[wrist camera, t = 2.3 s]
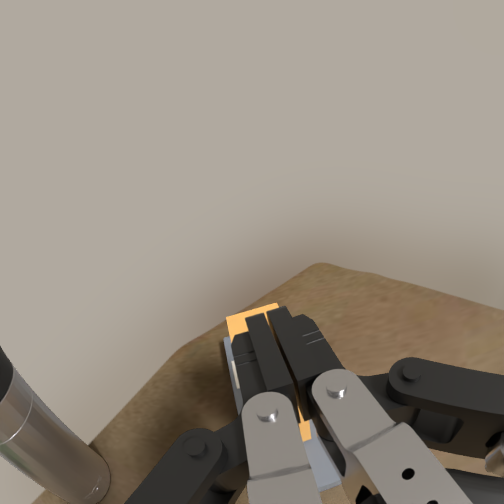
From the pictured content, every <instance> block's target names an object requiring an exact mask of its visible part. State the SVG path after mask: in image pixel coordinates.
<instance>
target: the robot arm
mask: <svg viewBox="0 0 504 504" xmlns="http://www.w3.org/2000/svg"><path fill="white" fill-rule="evenodd" d="M266 314H267V319H268V322H267V319H266V317H265V314H264V312H263V313H259V314H256V315H253V316H249V317H246V318H245V321H246V324H247V328H248V331H247V332H243V333H240V334H236V335H234V338H233V341H232V344H231V349H232V354H233V358H234V363H235V368H236V372H237V377H238V381H239V386H240V390H241V394H242V399H243V406H242V410H241V412H240V414H239V415H238V417H237V418H236V419H235V420H234V421H233V422H231V423H230V424H228V425H226V426H225V427H223V428H221V429H219V430H217V431H215V432H213V431H211V430H208V429H203V428H197V429H192V430H189V431H186V432H185V433H183V434H182V435H180V436H179V437H178V438H177V440H176V441H175V442H174V443H173V445H172V446H171V447H170V449H169V450H168V451H167V452H166V454H165V455H164V456H163V457H162V459H161V460H160V461H159V462H158V464H157V465H156V466H155V467H154V469H153V470H152V471H151V472H150V473H149V475H148V476H147V477H146V478H145V479H144V481H143V482H142V483H141V484H140V485H139V487H138V488H137V489H136V490H135V491H134V493H133V494H132V495H131V496H130V497H129V498H128V500H127V501H126V502H125V503H124V504H235V502H236V500H237V499H238V497H239V496H240V494H241V493H242V491H243V489H244V488H245V486H246V484H247V491H248V498H249V504H322V501H321V497H320V494H319V491H318V487H317V484H316V481H315V477H314V474H313V471H312V468H311V466H310V464H309V461H308V457H307V454H306V451H305V447H304V444H303V440H302V437H301V433H300V428H299V423H301V420H300V415H299V410H300V412H301V415H302V417H303V419H304V422H305V421H308V420H311V419H312V421H313V424H314V426H315V428H316V434H317V438H318V440H319V442H320V444H321V446H322V447H323V449H324V451H325V453H326V455H327V456H328V458H329V460H330V462H331V464H332V465H333V467H334V469H335V471H336V472H337V474H338V476H339V478H340V480H341V482H342V486H343V489H344V491H345V493H346V495H347V497H348V499H349V501H350V503H351V504H504V375H499V374H493V373H487V372H482V371H476V370H471V369H466V368H461V367H456V366H451V365H447V364H442V363H437V362H433V361H429V360H424V359H420V358H415V357H409V358H404V359H401V360H399V361H397V362H396V363H395V364H394V365H393V366H392V367H391V369H390V371H389V373H385V374H379V375H373V376H358V375H356V374H354V373H353V372H351V371H348V370H346V369H345V368H344V367H343V366H342V364H341V362H340V361H339V359H338V358H337V356H336V355H335V353H334V352H333V350H332V348H331V347H330V345H329V344H328V342H327V341H326V339H324V336H323V335H322V333H321V331H319V328H318V327H317V325H316V324H315V322H314V321H313V320H312V319H310V318H309V317H307V316H305V315H303V314H301V315H298V316H295V317H292V316H291V315H290V313H289V311H288V309H287V307H286V306H282V307H279V308H276V309H272V310H269V311H266ZM268 323H269V324H268ZM298 407H299V410H298ZM428 448H431V449H435V450H439V451H444V452H448V453H453V454H458V455H463V456H469V457H475V458H481V459H485V462H486V464H485V469H486V471H487V472H490V473H491V472H492V473H493V474H497V475H499V476H501V477H502V478H501V477H494V476H488V475H482V474H476V473H471V472H466V471H461V470H456V469H447V468H444V467H443V466H442V465H441V463H440V462H439V461H438V460H437V458H436V457H435V456H434V455H433V454H432V452H431V451H430V450H429V449H428ZM0 456H2V457H3V458H4V459H5V460H6V461H8V462H9V463H10V464H11V465H13V466H14V467H15V468H17V469H18V470H19V471H21V472H22V473H23V474H25V475H26V476H28V477H29V478H31V479H32V480H33V481H35V482H36V483H38V484H39V485H41V486H42V487H44V488H45V489H47V490H48V491H50V492H52V493H53V494H55V495H56V496H58V497H60V498H62V499H63V500H65V501H67V502H69V503H71V504H96V503H98V502H99V501H100V500H101V499H102V498H103V497H104V496H105V494H106V492H107V490H108V488H109V484H110V471H109V468H108V465H107V464H106V462H105V460H104V459H103V458H102V457H101V456H99V455H98V454H97V453H96V452H95V451H93V450H92V449H91V448H90V447H89V446H87V445H86V444H85V443H84V442H83V441H82V440H81V439H80V438H79V437H77V436H76V435H75V434H74V433H73V432H72V431H71V430H70V429H69V428H68V427H67V426H66V425H65V424H64V423H62V421H61V420H60V419H59V418H58V417H57V416H56V415H55V414H54V413H53V412H52V411H51V410H50V409H49V408H48V407H47V406H46V405H45V404H44V403H43V401H42V400H41V399H40V398H39V397H38V396H37V395H36V394H35V392H34V391H33V390H32V389H31V388H30V386H29V385H28V384H27V383H26V382H25V380H24V379H23V378H22V377H21V375H20V374H19V373H18V371H17V370H16V369H15V367H14V366H13V365H12V363H11V362H10V360H9V359H8V358H7V356H6V355H5V353H4V352H3V350H2V348H1V346H0Z"/></svg>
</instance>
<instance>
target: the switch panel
mask: <svg viewBox="0 0 504 504" xmlns="http://www.w3.org/2000/svg"><path fill="white" fill-rule="evenodd" d="M223 339H224V345H225V350H226V355H227V361H228V366H229V371H230V376H231V381H232V387H233V391H234V396H235V401H236V406H237V411H238V415H239V414H240V412H241V410H242V406H243V399H242V394H241V390H240V386H239V381H238V377H237V372H236V368H235V363H234V358H233V354H232V349H231V344H232V343H231V339H230V336H229V337H225V338H223ZM309 424H310V432H311V439H309V440H307V441H304V442H303V444H304V447H305V451H306V454H307V457H308V461H309V464H310V466H311V468H312V471H313V474H314V477H315V481H316V484H317V487H318V491H319V492H321V491H324V490H327V489H330V488H332V487H335V486H337V485H340V484H342V482H341V480H340V478H339V476H338V474H337V472H336V471H335V469H334V467H333V465H332V464H331V462H330V460H329V458H328V456H327V455H326V453H325V451H324V449H323V447H322V446H321V444H320V442H319V440H318V438H317V434H316V428H315V426H314V424H313V421H312V419H311V420H309Z"/></svg>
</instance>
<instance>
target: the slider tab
mask: <svg viewBox="0 0 504 504" xmlns="http://www.w3.org/2000/svg"><path fill="white" fill-rule="evenodd" d="M276 308H279V306H278V304H277V303H273V304H270V305H267V306H263V307H260V308H257V309H253V310H250V311H246V312H243V313H239V314H236V315H232V316H229V317H226V319H227V324H228V329H229V334H230V339H231V343H232V341H233V338H234V335H236V334H240V333H243V332H247V331H248V328H247V324H246V321H245V318H246V317H249V316H253V315H256V314H259V313H263V312H264V314H265V317H266V319H267V314H266V311H269V310H272V309H276ZM267 322H268V319H267ZM268 324H269V323H268ZM298 410H299V407H298ZM299 415H300V420H301V423H299V428H300V433H301V437H302V440H303V442H304V441H307V440H309V439H311V432H310V424H309V420H308V421H305V422H304V419H303V417H302V415H301V412H300V410H299Z"/></svg>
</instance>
